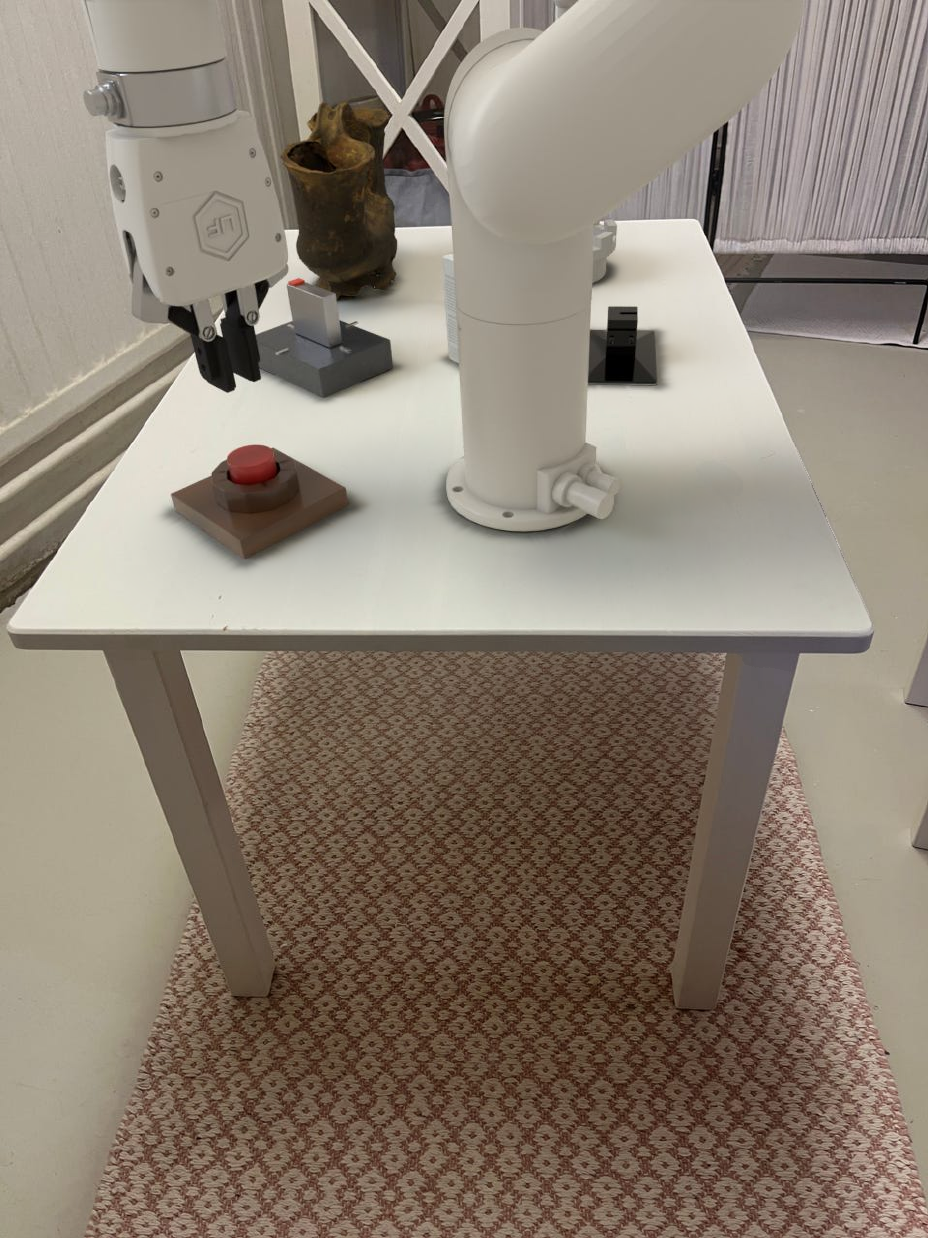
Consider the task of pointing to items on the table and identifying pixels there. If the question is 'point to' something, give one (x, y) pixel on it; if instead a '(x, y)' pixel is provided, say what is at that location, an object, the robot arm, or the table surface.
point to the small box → (450, 306)
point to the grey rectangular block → (314, 313)
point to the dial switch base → (324, 358)
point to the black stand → (622, 351)
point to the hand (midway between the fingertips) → (233, 379)
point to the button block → (259, 505)
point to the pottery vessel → (343, 200)
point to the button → (252, 464)
